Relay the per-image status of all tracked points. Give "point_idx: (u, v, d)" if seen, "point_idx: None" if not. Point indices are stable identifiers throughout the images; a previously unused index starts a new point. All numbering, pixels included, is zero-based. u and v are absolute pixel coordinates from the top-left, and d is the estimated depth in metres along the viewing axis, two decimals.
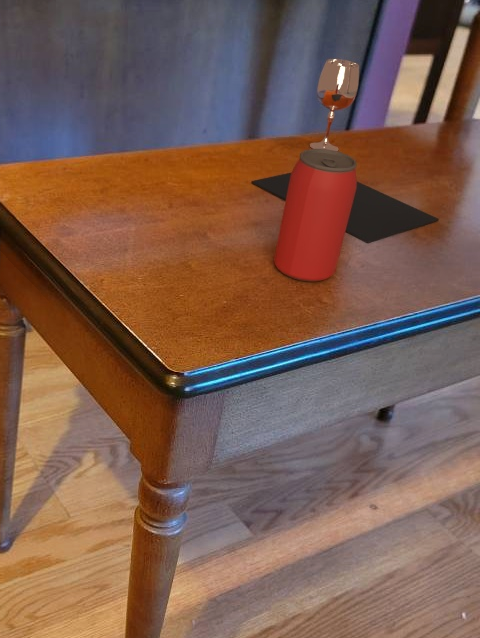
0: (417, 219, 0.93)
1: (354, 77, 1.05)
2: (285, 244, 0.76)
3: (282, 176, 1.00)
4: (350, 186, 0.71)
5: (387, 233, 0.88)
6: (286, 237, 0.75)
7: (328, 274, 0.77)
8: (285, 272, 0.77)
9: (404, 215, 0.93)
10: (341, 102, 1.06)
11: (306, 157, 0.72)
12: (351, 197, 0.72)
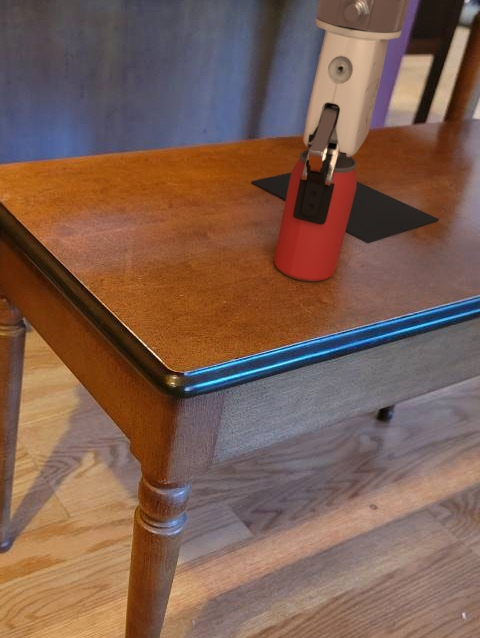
0: (417, 219, 0.93)
1: None
2: (285, 244, 0.76)
3: (282, 176, 1.00)
4: (350, 186, 0.71)
5: (387, 233, 0.88)
6: (286, 237, 0.75)
7: (328, 274, 0.77)
8: (285, 272, 0.77)
9: (404, 215, 0.93)
10: None
11: (306, 157, 0.72)
12: (351, 197, 0.72)
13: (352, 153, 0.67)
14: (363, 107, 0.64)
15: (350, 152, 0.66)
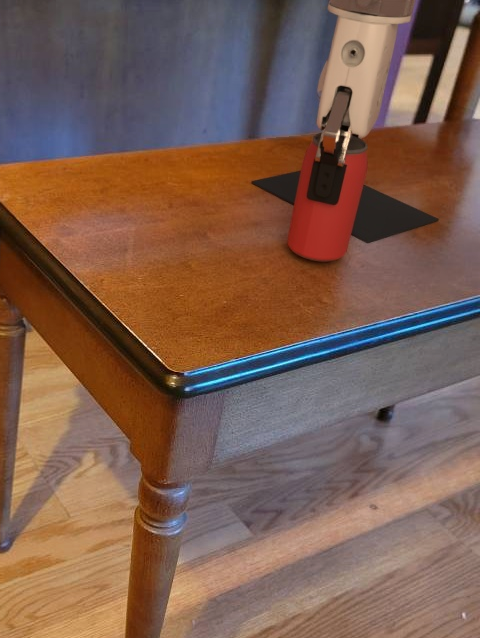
0: (417, 219, 0.93)
1: None
2: (298, 225, 0.78)
3: (282, 176, 1.00)
4: (361, 167, 0.74)
5: (387, 233, 0.88)
6: (299, 218, 0.78)
7: (340, 254, 0.79)
8: (298, 252, 0.79)
9: (404, 215, 0.93)
10: None
11: (318, 140, 0.75)
12: (362, 178, 0.75)
13: (364, 134, 0.69)
14: (375, 89, 0.67)
15: (362, 133, 0.69)
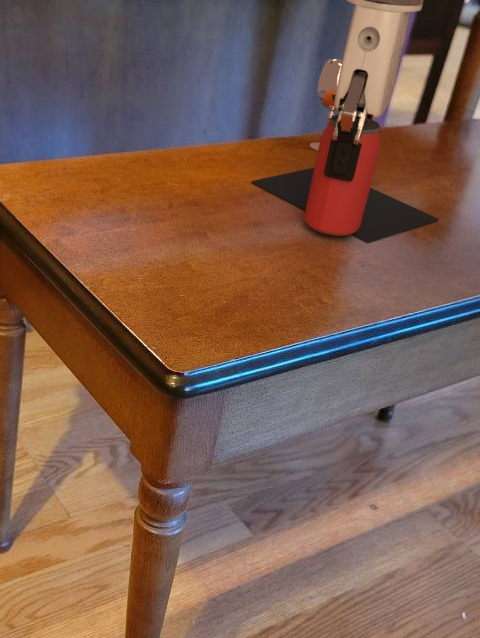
0: (417, 219, 0.93)
1: None
2: (315, 201, 0.84)
3: (282, 176, 1.00)
4: (375, 146, 0.79)
5: (387, 233, 0.88)
6: (316, 194, 0.83)
7: (354, 229, 0.85)
8: (315, 227, 0.85)
9: (404, 215, 0.93)
10: None
11: (335, 121, 0.80)
12: (376, 157, 0.80)
13: (378, 115, 0.75)
14: (389, 73, 0.72)
15: (377, 113, 0.74)
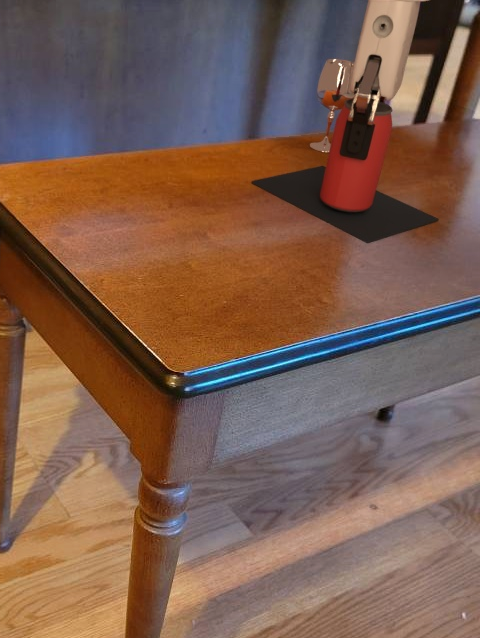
0: (417, 219, 0.93)
1: None
2: (330, 180, 0.90)
3: (282, 176, 1.00)
4: (387, 127, 0.85)
5: (387, 233, 0.88)
6: (332, 173, 0.89)
7: (367, 205, 0.91)
8: (330, 204, 0.91)
9: (404, 215, 0.93)
10: (341, 102, 1.06)
11: (349, 104, 0.86)
12: (388, 137, 0.86)
13: (391, 97, 0.81)
14: (401, 57, 0.78)
15: (390, 96, 0.80)
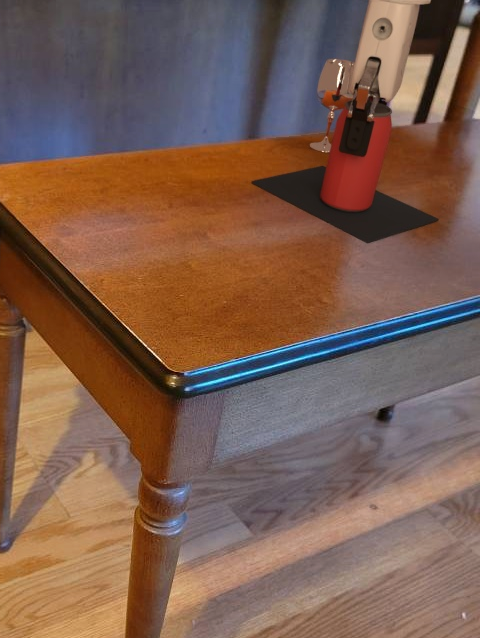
0: (417, 219, 0.93)
1: None
2: (331, 180, 0.91)
3: (282, 176, 1.00)
4: (387, 128, 0.87)
5: (387, 233, 0.88)
6: (332, 173, 0.90)
7: (366, 205, 0.92)
8: (330, 204, 0.92)
9: (404, 215, 0.93)
10: (341, 102, 1.06)
11: None
12: (387, 138, 0.88)
13: (390, 98, 0.82)
14: (400, 60, 0.80)
15: (389, 97, 0.82)
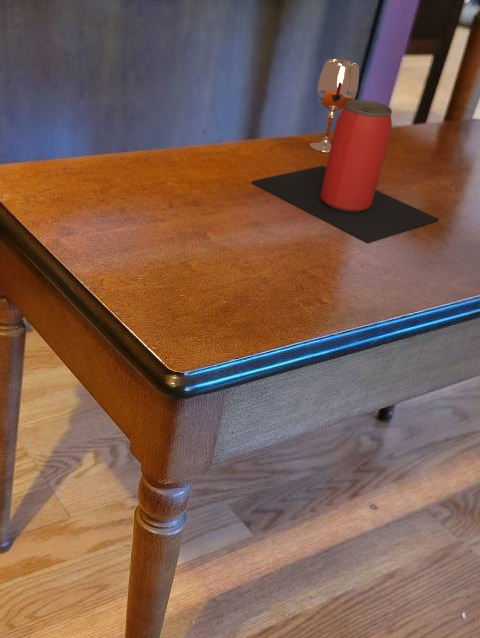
0: (417, 219, 0.93)
1: (354, 76, 1.05)
2: (331, 180, 0.91)
3: (282, 176, 1.00)
4: (387, 128, 0.87)
5: (387, 233, 0.88)
6: (332, 173, 0.90)
7: (366, 205, 0.92)
8: (330, 204, 0.92)
9: (404, 215, 0.93)
10: (341, 102, 1.06)
11: (350, 106, 0.88)
12: (387, 138, 0.88)
13: None
14: None
15: None
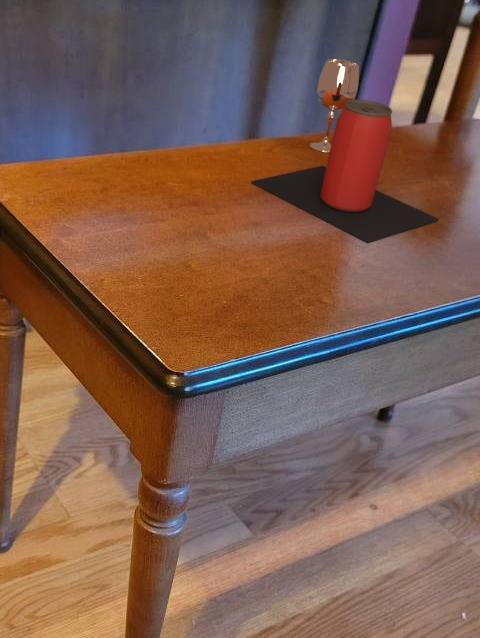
0: (417, 219, 0.93)
1: (354, 76, 1.05)
2: (331, 180, 0.91)
3: (282, 176, 1.00)
4: (387, 128, 0.87)
5: (387, 233, 0.88)
6: (332, 173, 0.90)
7: (366, 205, 0.92)
8: (330, 204, 0.92)
9: (404, 215, 0.93)
10: (341, 102, 1.06)
11: (350, 106, 0.88)
12: (387, 138, 0.88)
13: None
14: None
15: None
